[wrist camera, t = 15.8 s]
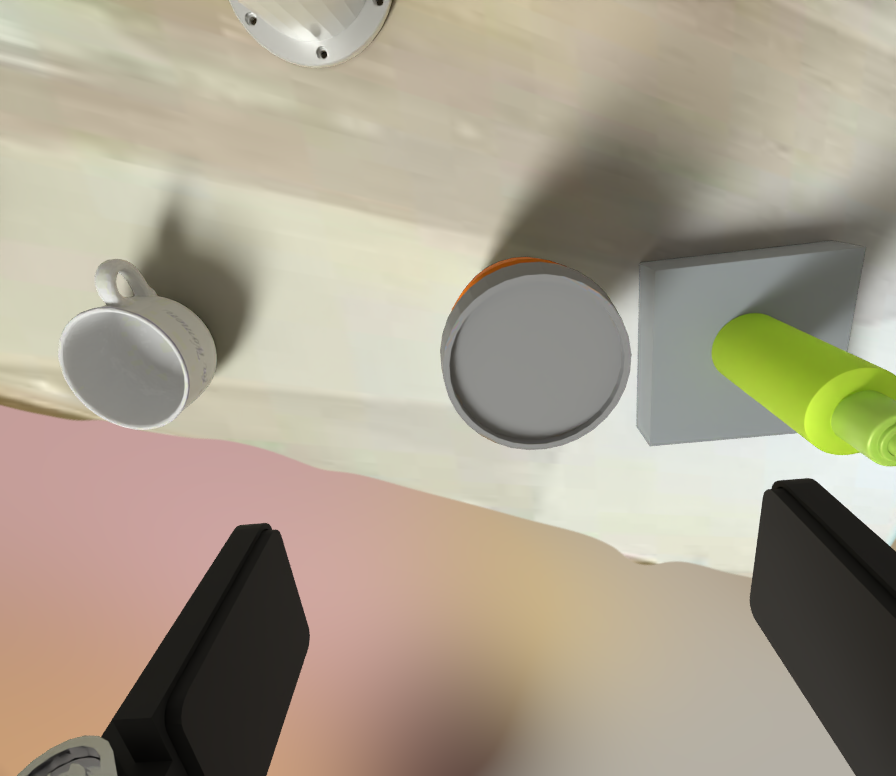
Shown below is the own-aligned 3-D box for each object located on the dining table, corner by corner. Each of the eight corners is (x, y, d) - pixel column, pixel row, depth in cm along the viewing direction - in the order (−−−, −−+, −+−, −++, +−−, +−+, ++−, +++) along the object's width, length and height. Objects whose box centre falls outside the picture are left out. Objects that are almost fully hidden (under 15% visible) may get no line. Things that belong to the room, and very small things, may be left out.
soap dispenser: (716, 398, 46) (889, 550, 27) (707, 324, 43) (889, 436, 25) (787, 380, 45) (1014, 524, 26) (781, 304, 42) (1027, 404, 24)
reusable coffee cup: (425, 269, 46) (408, 311, 32) (562, 216, 44) (607, 237, 30) (473, 391, 50) (477, 475, 37) (600, 348, 48) (655, 420, 35)
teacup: (228, 403, 52) (188, 442, 44) (117, 383, 51) (59, 419, 44) (232, 264, 46) (188, 282, 39) (109, 240, 46) (41, 253, 39)
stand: (639, 262, 45) (655, 270, 42) (832, 240, 44) (866, 246, 40) (636, 426, 51) (649, 446, 48) (805, 410, 50) (832, 429, 46)
